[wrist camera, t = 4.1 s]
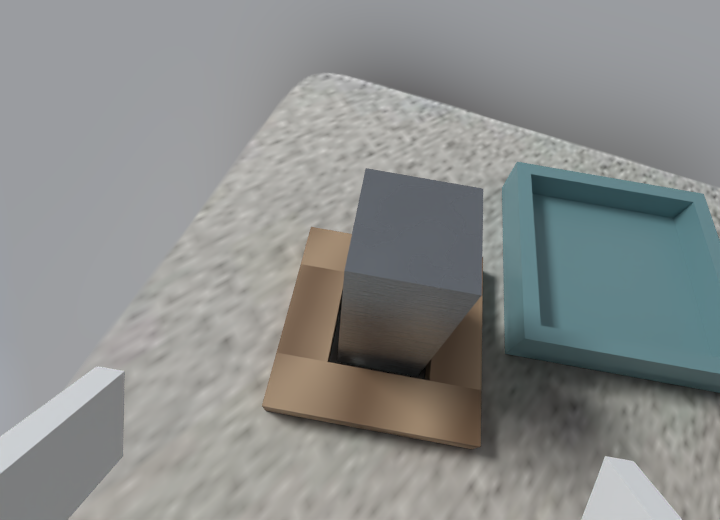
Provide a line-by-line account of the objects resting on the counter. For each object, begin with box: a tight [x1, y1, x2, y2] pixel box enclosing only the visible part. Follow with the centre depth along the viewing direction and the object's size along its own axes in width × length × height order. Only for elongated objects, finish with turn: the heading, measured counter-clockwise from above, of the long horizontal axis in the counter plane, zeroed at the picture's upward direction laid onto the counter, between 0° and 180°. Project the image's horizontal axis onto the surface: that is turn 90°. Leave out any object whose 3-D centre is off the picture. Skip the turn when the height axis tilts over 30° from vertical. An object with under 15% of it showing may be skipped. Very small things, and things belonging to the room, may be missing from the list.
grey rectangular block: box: [337, 168, 483, 377], centre depth 21 cm, size 5×5×12 cm
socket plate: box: [262, 227, 483, 449], centre depth 25 cm, size 12×12×2 cm
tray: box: [502, 162, 720, 393], centre depth 28 cm, size 14×14×3 cm
